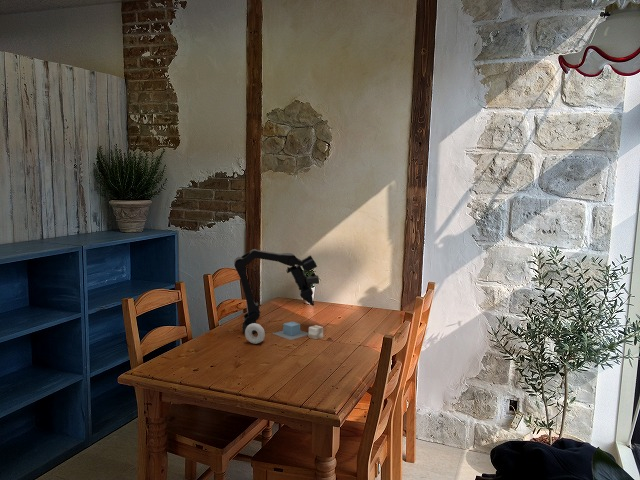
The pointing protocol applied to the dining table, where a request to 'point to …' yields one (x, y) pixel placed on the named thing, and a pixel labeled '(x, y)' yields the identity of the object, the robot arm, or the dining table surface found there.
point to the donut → (259, 330)
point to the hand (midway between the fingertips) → (312, 302)
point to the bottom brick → (291, 328)
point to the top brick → (315, 332)
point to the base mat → (291, 336)
